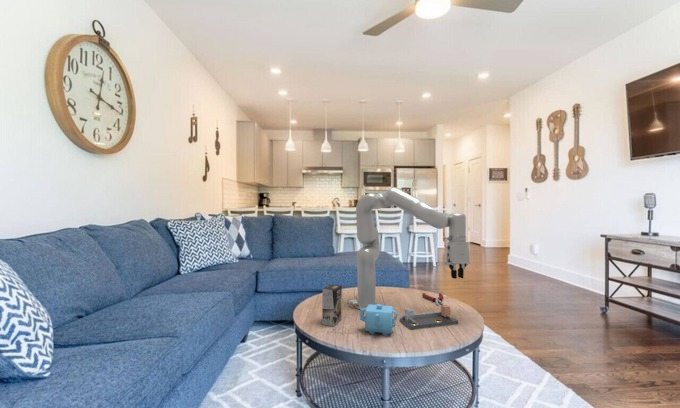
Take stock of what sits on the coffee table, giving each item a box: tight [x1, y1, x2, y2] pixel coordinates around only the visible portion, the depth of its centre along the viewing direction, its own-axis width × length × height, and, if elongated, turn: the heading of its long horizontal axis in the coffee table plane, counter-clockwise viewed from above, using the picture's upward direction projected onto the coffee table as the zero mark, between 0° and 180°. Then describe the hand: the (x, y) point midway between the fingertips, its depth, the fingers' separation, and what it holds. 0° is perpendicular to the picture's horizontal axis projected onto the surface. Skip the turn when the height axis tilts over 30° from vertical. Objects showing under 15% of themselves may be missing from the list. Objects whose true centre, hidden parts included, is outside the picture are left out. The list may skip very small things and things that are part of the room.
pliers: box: [422, 292, 444, 306], centre depth 174 cm, size 12×20×3 cm, turn 178°
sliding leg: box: [440, 304, 453, 318], centre depth 145 cm, size 3×6×4 cm, turn 16°
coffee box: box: [321, 284, 343, 327], centre depth 143 cm, size 9×6×16 cm
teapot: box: [359, 303, 398, 337], centre depth 132 cm, size 16×18×11 cm
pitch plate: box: [399, 307, 459, 331], centre depth 142 cm, size 24×10×6 cm, turn 106°
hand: (457, 277), depth 148 cm, fingers open, 3 cm apart
